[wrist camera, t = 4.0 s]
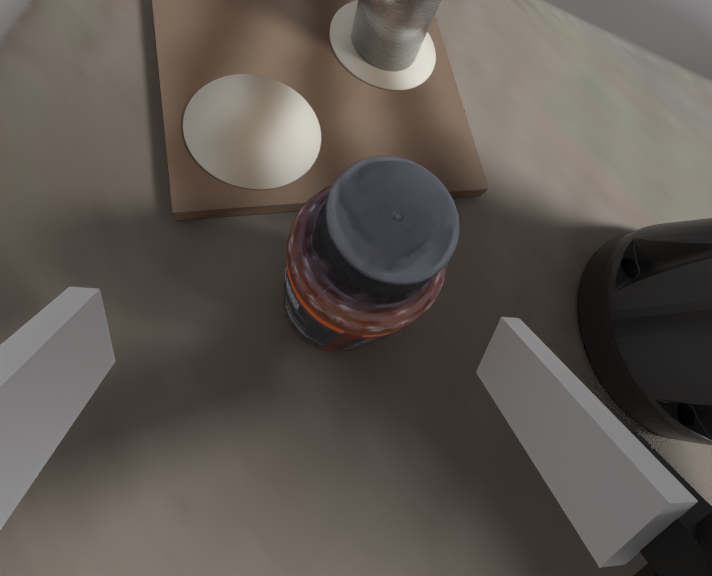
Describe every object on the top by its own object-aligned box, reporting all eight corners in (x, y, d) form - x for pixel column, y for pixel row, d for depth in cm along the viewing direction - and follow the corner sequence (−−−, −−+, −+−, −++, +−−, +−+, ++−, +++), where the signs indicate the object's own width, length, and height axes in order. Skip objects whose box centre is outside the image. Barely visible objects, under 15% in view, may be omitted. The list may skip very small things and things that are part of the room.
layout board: (426, 19, 28) (433, 4, 26) (480, 195, 24) (489, 187, 23) (155, -1, 22) (149, -20, 21) (177, 220, 19) (171, 211, 18)
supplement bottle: (399, 293, 21) (526, 209, 10) (345, 373, 19) (433, 371, 8) (323, 235, 21) (372, 89, 10) (260, 310, 19) (240, 226, 8)
